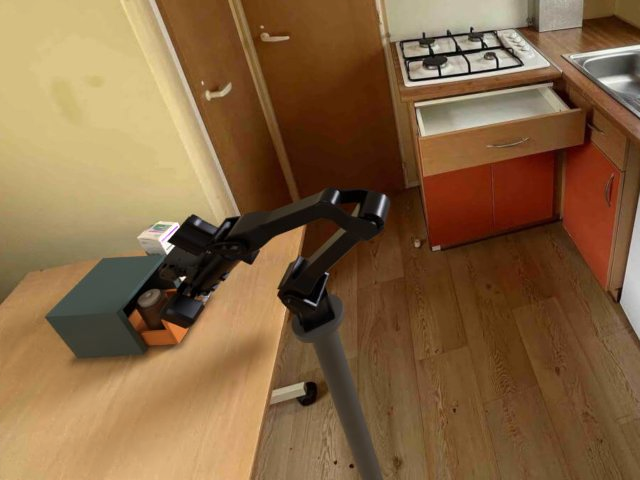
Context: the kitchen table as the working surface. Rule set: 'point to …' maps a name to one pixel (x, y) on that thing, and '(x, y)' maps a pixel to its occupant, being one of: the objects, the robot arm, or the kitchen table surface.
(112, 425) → the kitchen table surface
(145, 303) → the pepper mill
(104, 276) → the cubby
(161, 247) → the syrup box
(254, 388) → the kitchen table surface
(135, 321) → the drawer
